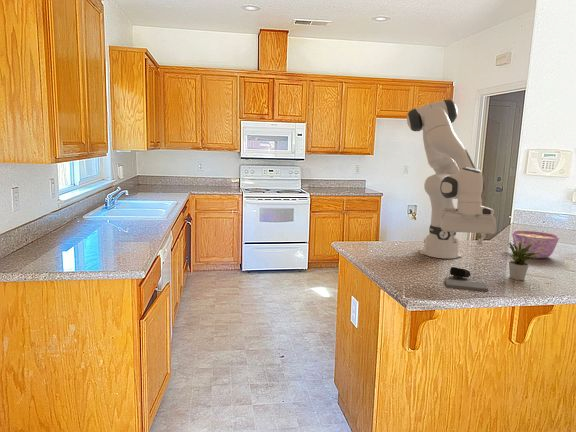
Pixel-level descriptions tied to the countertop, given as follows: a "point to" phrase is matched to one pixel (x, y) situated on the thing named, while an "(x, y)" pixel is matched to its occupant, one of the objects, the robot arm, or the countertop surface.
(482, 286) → the gray rectangular block
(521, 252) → the house plant
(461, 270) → the tape measure
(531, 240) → the bowl of food
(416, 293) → the countertop surface
